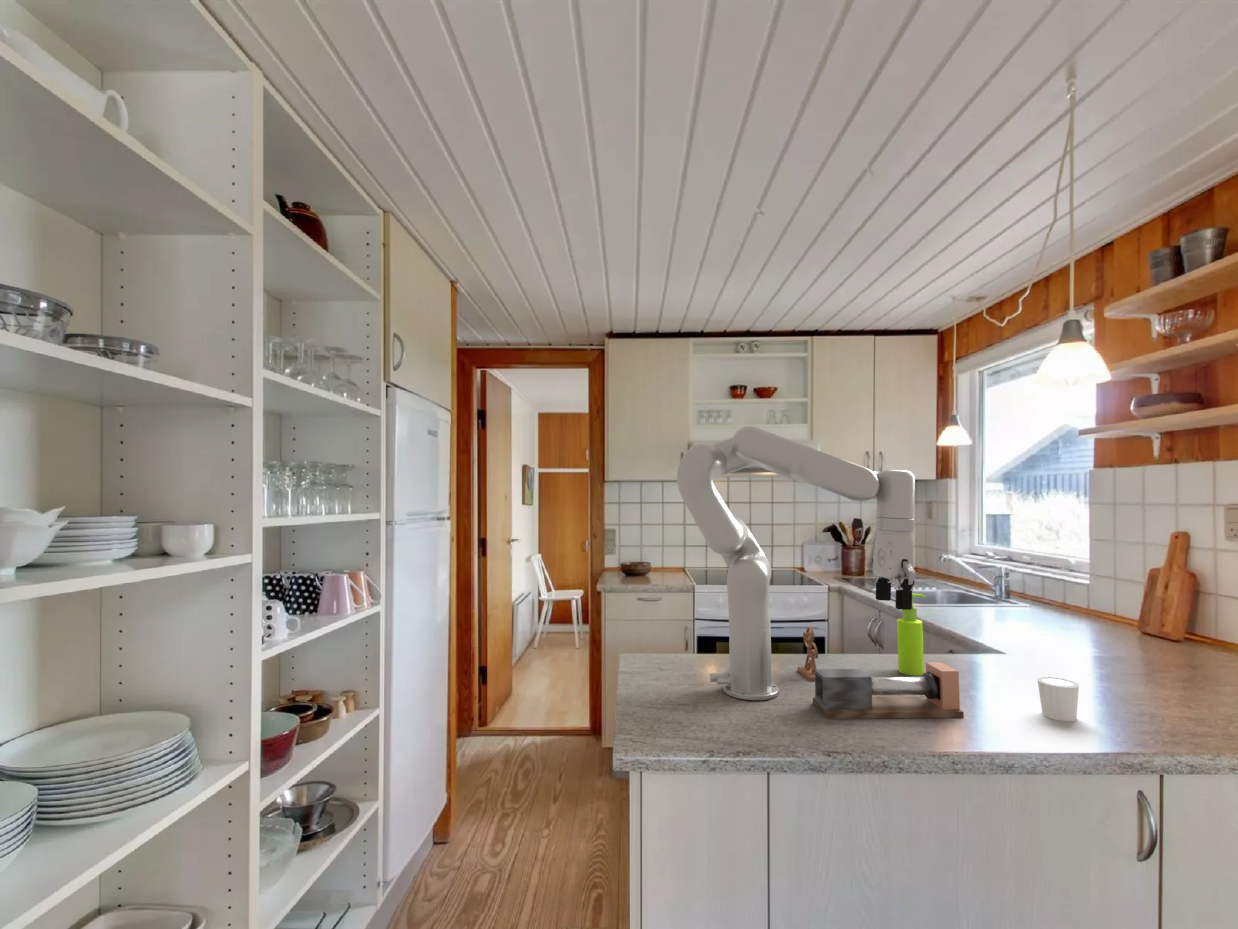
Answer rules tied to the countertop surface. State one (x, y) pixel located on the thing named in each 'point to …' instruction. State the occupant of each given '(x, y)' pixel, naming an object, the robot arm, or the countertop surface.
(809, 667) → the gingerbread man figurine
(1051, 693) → the white cup
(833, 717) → the stand
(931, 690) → the steel tube
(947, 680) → the socket block
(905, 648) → the soap dispenser
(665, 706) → the countertop surface
